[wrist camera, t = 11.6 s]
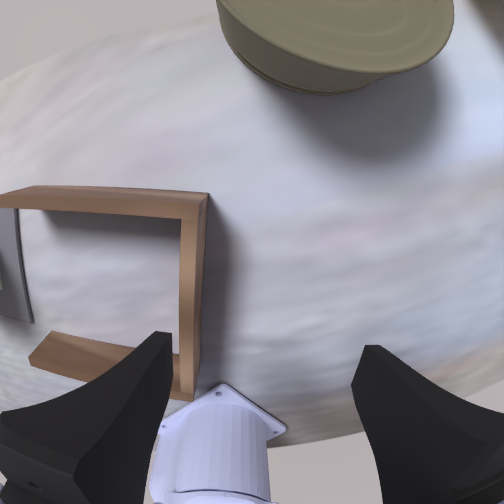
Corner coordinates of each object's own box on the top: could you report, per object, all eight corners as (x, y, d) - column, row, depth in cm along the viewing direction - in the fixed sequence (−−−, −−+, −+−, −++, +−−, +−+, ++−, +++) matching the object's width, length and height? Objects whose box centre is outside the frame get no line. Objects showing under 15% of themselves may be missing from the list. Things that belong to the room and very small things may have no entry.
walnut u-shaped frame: (199, 365, 22) (193, 401, 18) (53, 338, 21) (30, 365, 17) (208, 192, 18) (199, 203, 14) (34, 185, 17) (-1, 194, 14)
